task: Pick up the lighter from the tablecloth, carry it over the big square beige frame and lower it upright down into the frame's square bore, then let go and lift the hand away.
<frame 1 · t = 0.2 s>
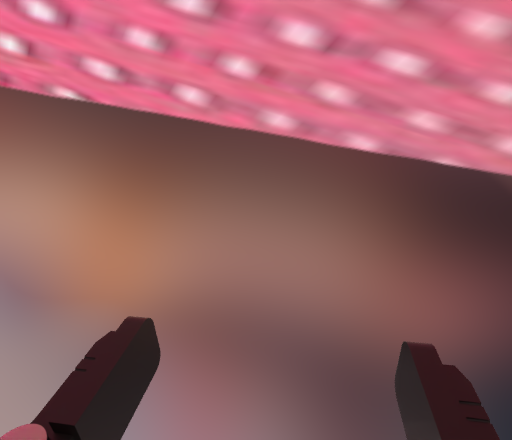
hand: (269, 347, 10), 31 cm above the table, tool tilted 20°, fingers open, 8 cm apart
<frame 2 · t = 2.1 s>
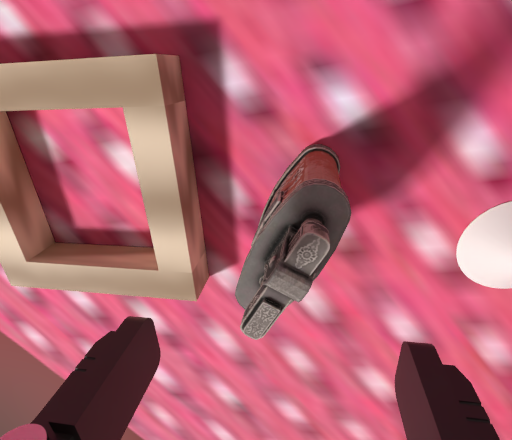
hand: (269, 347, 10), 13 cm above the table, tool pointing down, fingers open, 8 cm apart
square beige frame: (95, 182, 23), on the table
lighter: (296, 197, 21), on the table
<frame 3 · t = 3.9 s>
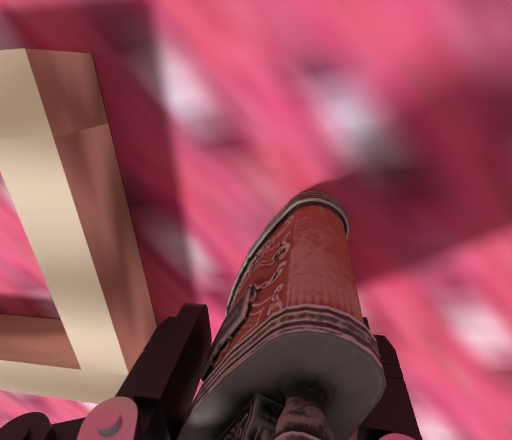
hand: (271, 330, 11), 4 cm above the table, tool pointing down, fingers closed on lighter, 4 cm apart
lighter: (282, 264, 14), on the table, touching gripper
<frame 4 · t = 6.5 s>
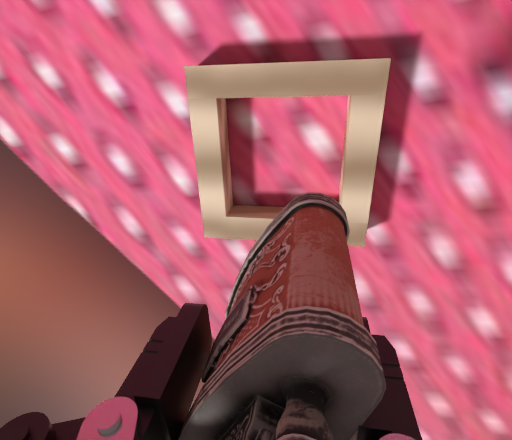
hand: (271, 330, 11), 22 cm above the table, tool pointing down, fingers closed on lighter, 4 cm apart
square beige frame: (284, 155, 30), on the table
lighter: (282, 265, 14), point 18 cm above the table, touching gripper
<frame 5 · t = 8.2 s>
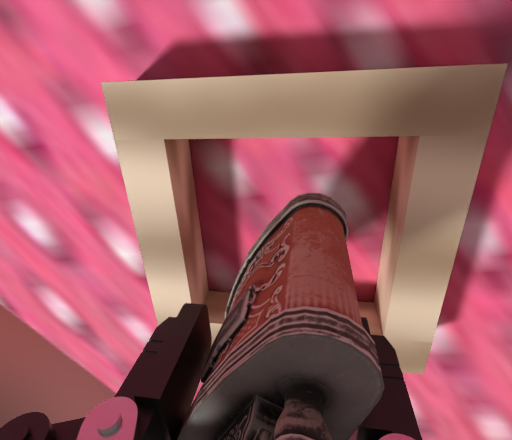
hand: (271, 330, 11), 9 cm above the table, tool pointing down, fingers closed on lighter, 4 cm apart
square beige frame: (287, 222, 18), on the table
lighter: (282, 265, 14), point 5 cm above the table, touching gripper
when the fingers open (5 cm above the table, at t = 9.5 s): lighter stays where it is, resting in square beige frame.
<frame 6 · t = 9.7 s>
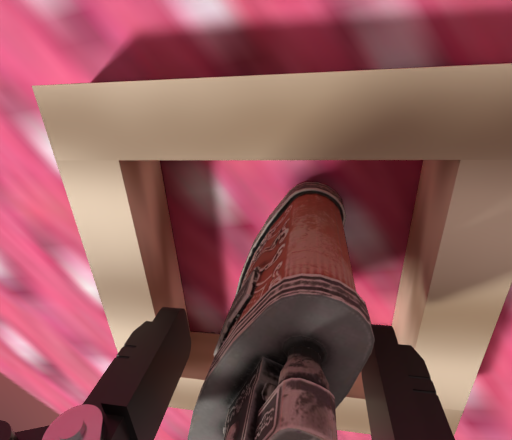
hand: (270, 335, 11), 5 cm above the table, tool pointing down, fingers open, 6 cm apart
square beige frame: (283, 256, 15), on the table
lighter: (285, 253, 15), resting in square beige frame
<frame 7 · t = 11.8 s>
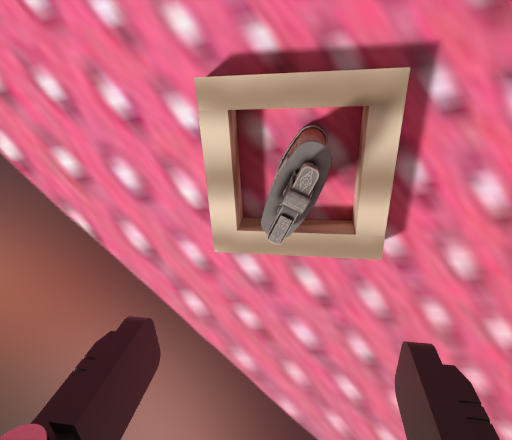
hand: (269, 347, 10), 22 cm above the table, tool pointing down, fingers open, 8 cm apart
square beige frame: (296, 166, 29), on the table
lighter: (298, 165, 29), resting in square beige frame
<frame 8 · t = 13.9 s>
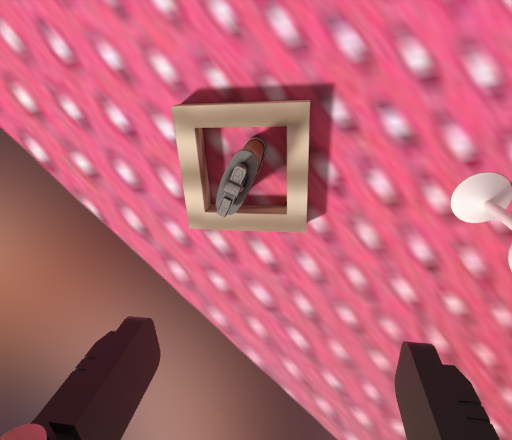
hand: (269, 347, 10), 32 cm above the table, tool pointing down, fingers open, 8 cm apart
square beige frame: (246, 166, 41), on the table
champagne flute: (480, 198, 38), on the table
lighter: (248, 165, 41), resting in square beige frame
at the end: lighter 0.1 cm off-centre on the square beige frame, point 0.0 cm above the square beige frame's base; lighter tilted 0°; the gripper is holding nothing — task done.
